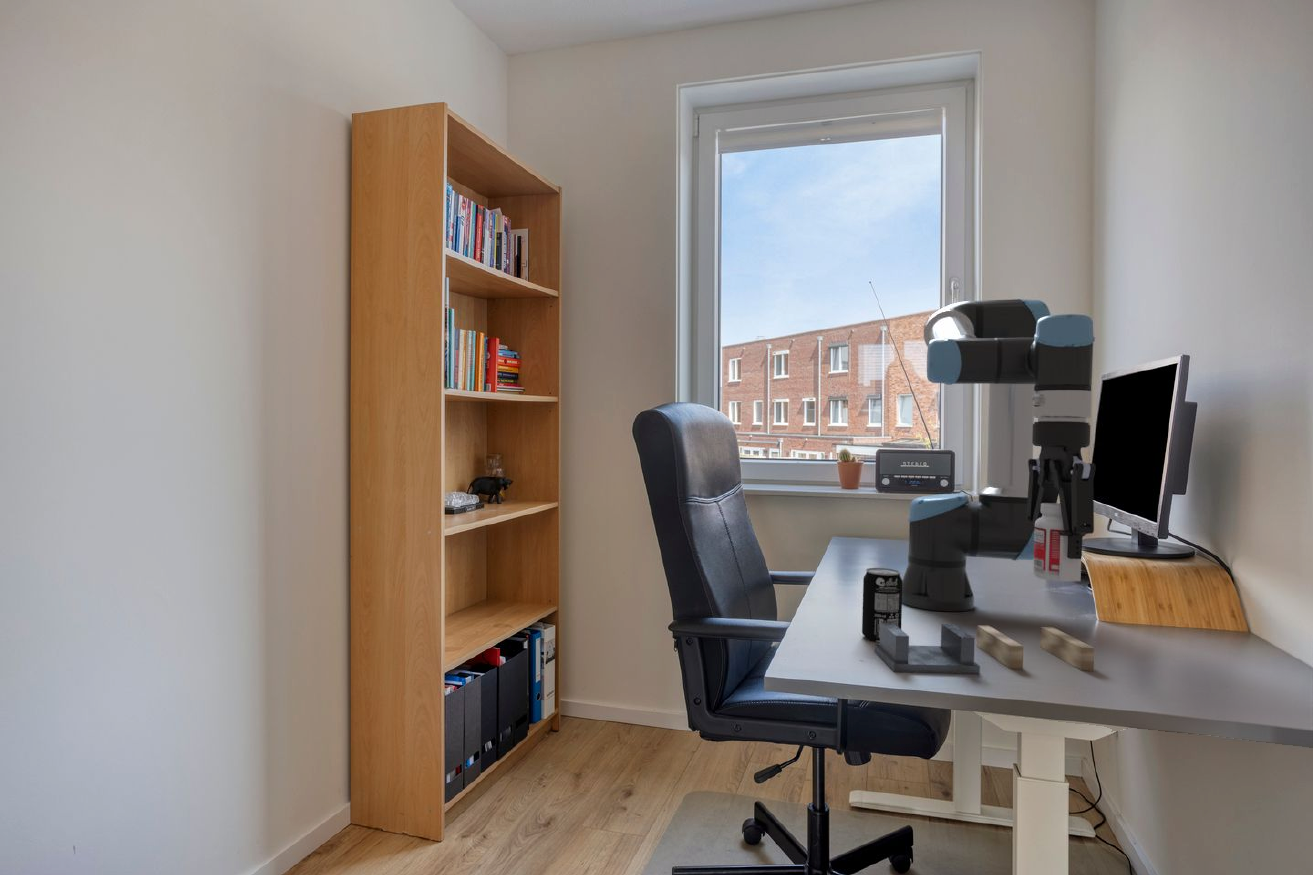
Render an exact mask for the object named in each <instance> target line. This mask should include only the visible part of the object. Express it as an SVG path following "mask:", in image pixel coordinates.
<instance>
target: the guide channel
mask: <svg viewBox="0 0 1313 875" xmlns="http://www.w3.org/2000/svg"><path fill="white" fill-rule="evenodd" d="M976 626H977V628H976V646H977V647H978V648H979V649H981V650H982V651H984V652H985V653H986V654H987V655H990V656H991V657H992V658H994V659H995V660H997V662H1000V663H1001V664H1003V665H1004V666H1005V667H1006V668H1008V669H1014V670H1015V669H1017V670H1021V669H1024V645H1022V644H1020V643H1019V642H1017V641H1015V640H1014V639H1012V638H1010V637H1008V636H1007V635H1005V634H1003V633H1002V632H1001V631H998V630H997V629H995V628H993V627H992V626H990V625H976ZM1040 629H1041V632H1040V633H1041V634H1040V648H1041V649H1043V650H1045V651H1046V652H1048V653H1050V654H1052V655H1054V656H1055V657H1056V658H1059V659H1061V660H1062V661H1064V662H1066V663H1068V664H1069V665H1071V666H1073V667H1074V668H1076V669H1077V670H1080V671H1094V670H1095V669H1094V668H1095V665H1094V664H1095V648H1094V647H1093V646H1091V645H1089V644H1087V643H1085V642H1082V640H1080V639H1077V638H1076V637H1073V636H1072V635H1070V634H1067V633H1065V632H1063V631H1062V630H1060V629H1057V628H1056V627H1053V626H1041V627H1040Z"/></svg>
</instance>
